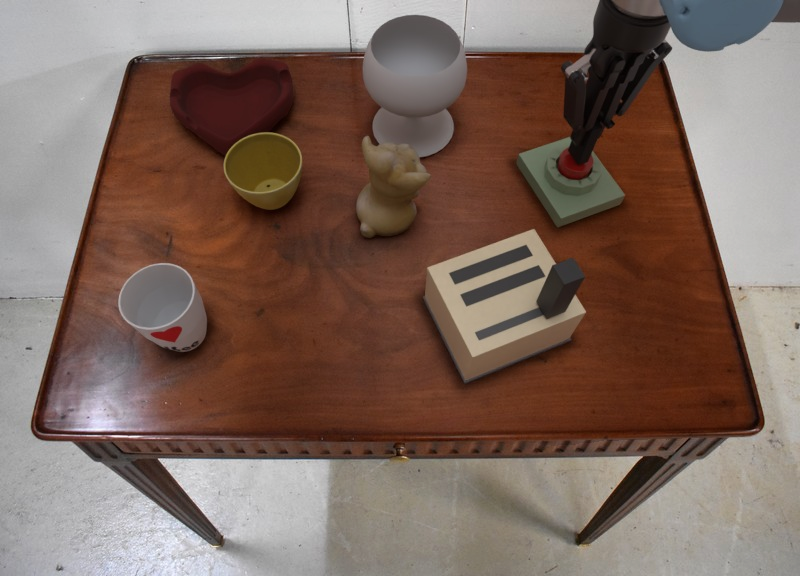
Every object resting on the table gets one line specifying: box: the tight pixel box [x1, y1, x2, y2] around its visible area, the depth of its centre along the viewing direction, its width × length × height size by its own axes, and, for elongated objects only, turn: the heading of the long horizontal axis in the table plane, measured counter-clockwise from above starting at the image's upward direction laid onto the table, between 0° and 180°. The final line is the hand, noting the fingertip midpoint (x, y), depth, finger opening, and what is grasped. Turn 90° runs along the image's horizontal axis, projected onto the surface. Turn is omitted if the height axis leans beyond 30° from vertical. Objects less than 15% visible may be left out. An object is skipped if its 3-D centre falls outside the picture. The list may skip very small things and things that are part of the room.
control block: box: [515, 136, 626, 228], centre depth 82 cm, size 12×10×4 cm
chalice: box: [362, 14, 468, 158], centre depth 82 cm, size 14×14×15 cm
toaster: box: [422, 228, 587, 385], centre depth 70 cm, size 12×14×8 cm
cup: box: [117, 262, 208, 353], centre depth 69 cm, size 8×8×10 cm
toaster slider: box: [536, 257, 586, 319], centre depth 62 cm, size 2×2×8 cm
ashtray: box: [169, 56, 295, 157], centre depth 87 cm, size 18×16×5 cm
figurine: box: [355, 135, 432, 239], centre depth 74 cm, size 10×8×15 cm
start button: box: [557, 147, 593, 180], centre depth 80 cm, size 4×4×2 cm
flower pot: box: [223, 131, 303, 211], centre depth 80 cm, size 10×10×7 cm
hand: (577, 156), depth 79 cm, fingers closed
